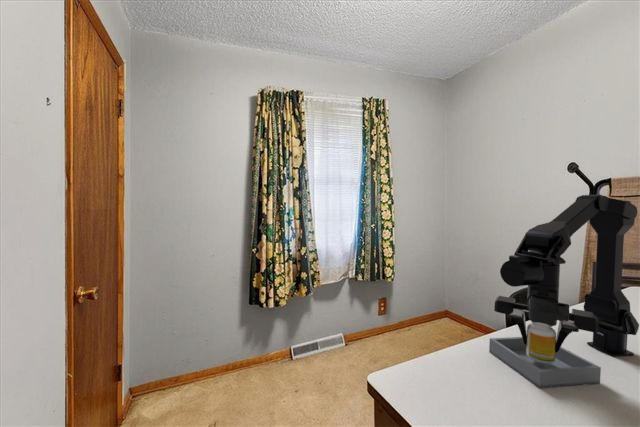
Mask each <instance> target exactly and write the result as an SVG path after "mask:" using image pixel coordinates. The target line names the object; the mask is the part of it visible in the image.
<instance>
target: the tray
mask: <svg viewBox="0 0 640 427" xmlns="http://www.w3.org/2000/svg"><path fill="white" fill-rule="evenodd" d="M526 346H527V345H525V344H524V341H523V338H522V336H514V337H513V336H511V337H510V336H509V337H490V338H489V346H488V348H489V350H488V351H489V353H490V354H491V355H493V356H494V357H495V358H497V359H498V360H500V361H501V362H503V363H504V364H505V365H507V366H508V367H509V368H511V369H512V371H513V370H514V371H515V372H516V373H518V374H519V375H520V376H522V377H523V378H524V379H526V380H527V381H528V382H530V383H531V384H532V385H534V386H535V387H537V388H538V389H550V388H551V389H552V388H554V389H555V388H563V387H565V388H566V387H577V386H590V385H600V384H601V375H602V374H601V370H602V368H601V367H600V366H599V365H596V364H595V363H593V362H592V361H589V360H587V359H585V358H583V357H581V356H580V355H579V354H578V355H577V354H576V353H574V352H572V351H570V350H569V349H566V348H564V347H562V346H561V347H560V349H559V351H558V352H555V362H554V363H552V364H545V363H540V362H537V361H535V360H533V359H531V358H529V357H528V356H527V354H526Z"/></svg>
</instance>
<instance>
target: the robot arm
mask: <svg viewBox="0 0 640 427" xmlns="http://www.w3.org/2000/svg"><path fill="white" fill-rule="evenodd" d="M637 215H638V208H637V206H636V205H635V204H632V202H631V201H629V200H621V199H616V198H612V197H609V196H606V195H603V194H582V195H579V196H577V197H576V198H575V201H574V202H572V204H569V206H568V207H567V208H566V209H564V210H563V211H562V212H561V213H560V214H558V215H556V216H555V217H554V218H553V219H552V220H550V221H549V222H545V223H542V224H537V225H536V226H534V227H532V228H530V229H528V230H527V232H525V234H524V236H523V238H522V240H521V241H520V243H519V245H518V246H517V248H516V250H515V252H514V254H513V255H512V254H511V255H508V260H507V261H505V262H504V263H503V264H502V265H501V267H500V271H499V273H500V276H501V279H502V281H503V282H504V283H505V284H507V285H508V286H510V287H514V288H515V287H523V286H525V287H526V286H527V298H526V304H524V303H520V302H516V298H513V297H510V296H509V297H507V296H502V295H498V296H497V297H496V298H495V301H494V312H495V313H499V314H503V315H508V317H509V319H513V320H514V321H515V324H516V325H517V327H518V329H519V332H520V335H521V337H522V338H523V341H524V344H525V345H527V325H526V315H525V314H528V320H529V321H530V322H531V321H532V322H536V323H537V322H539V323H544V324H547V325H550V326H552V327H556V326H557V323H558V328H557V331H556V345H555V352H558V351H559V349H560V347H562V345H563V344H564V341H565V340H566V338H567V337H569V335H570V334H571V333H574V332H575V333H578V332H579V331H585V332H591V333H592V341H587V342H586V344H587V345H588V346H590V347H592V348H595V349H597V350H599V351H600V352H603V353H605V354H607V355H610V356H612V357H621V356H623V357H624V356H625V357H626V356H634V355H635V354H634V352H633V351H631V350H629V349H628V335H632V336H636V335H637V333H638V331H639V328H640V327H639V326H640V324H639V322H638V320H637V319H636V318H635V316H634V315H633V313H632V312H631V303H630V301H629V299H628V298H627V297H626V295H625V294H624V293H623V291H622V285H623V284H622V283H623V264H624V263H623V262H624V261H623V260H624V245H625V244H624V240H625V235H626V234H627V233H628V232H629V231H630V230H631V229H632V228H633V227H634V226H635V219H636V218H637ZM588 222H589V225H590V226H591V228H592V229H593V230H594V232H595V233H596V234H597V237H596V255H595V256H596V257H595V275H594V276H595V278H594V283H595V284H594V288H593V289H592V290H591V291H590V292H588V293H585V295H584V304H583V310H581V309H577V308H572V309H571V312H570V304H569V303H564V302H563V303H562V302H559V293H560V292H559V291H560V270H561V266H560V265H564V264H566V262H567V261H566V260H565V259H564V258H563V257H562V255H563V254H564V253H565V252H566V251H567V250H568V249H569V248H570V247H571V244H572V240H571V239H572V238H571V237H572V236H573V235H574V234H575V233H576V232H577V231H578V230H580V229H581V228H582V227H583V226H585V225H586V223H588ZM558 321H559V322H558ZM532 322H531V323H532Z"/></svg>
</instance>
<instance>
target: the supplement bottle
mask: <svg viewBox="0 0 640 427" xmlns="http://www.w3.org/2000/svg"><path fill="white" fill-rule="evenodd" d="M530 322H531V323H529V324H528V325H527V326H526V332H527V346H526V354H527V356H528V357H529V358H531V359H533V360H535V361H537V362H540V363H545V364H552V363H554V362H555V345H556V337H557V331H556V330H555V329H554V328H553V326H550V325H547V324H544V323H539V322H537V323H536V322H532V321H530Z"/></svg>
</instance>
